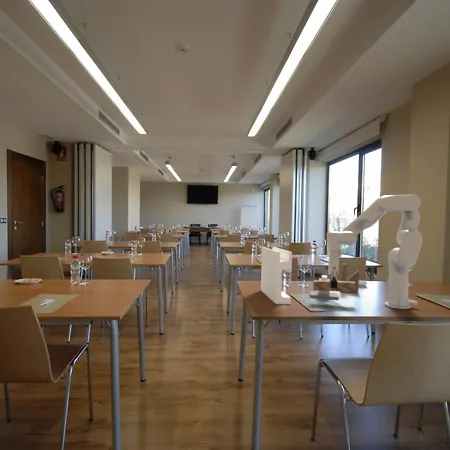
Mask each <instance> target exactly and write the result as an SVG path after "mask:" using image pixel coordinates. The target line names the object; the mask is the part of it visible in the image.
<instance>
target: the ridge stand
mask: <svg viewBox="0 0 450 450" xmlns="http://www.w3.org/2000/svg"><path fill="white" fill-rule="evenodd" d="M318 280H323V281H331V279H330V278H328V275H324V274H323V275H321V278H320V277H319V278H318ZM309 298H311V299H312V298H314V299H325V300H335V301H336V300H340V299H339V294H338V292H333V291H316V290H310V292H309Z"/></svg>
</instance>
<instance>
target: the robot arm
mask: <svg viewBox="0 0 450 450" xmlns="http://www.w3.org/2000/svg"><path fill="white" fill-rule="evenodd" d="M421 202H422V201H421V198H420V197H419V196H418V195H416V194H413V193H412V194H411V193H410V194H391V195H382V196H379V197H378V198H377V199H375V201H374V202H372V203H371V204H370V205H369V206H368V207H367V208H366V209H365V210H364V211H363V212H362V213H361V214H360V215H358V216H357V217H356V218H355V219H354V220H352V221H351V222H349V224H348V225H347V226H346V227H345V228H343V230H342V231H327V233H326V257H328V266H327V267H328V270H327V271H328V275H329V276H330V281H331V288H337V281H338V275H339V269H340V266H339V265H340V258H341V257H342V245H346V246H353V245H355V244H356V243H357V241H358V235H359V234H360V233H362V232H363V231H365V230H367V229H369V228H371V227H373V226H374V225H375V224H377V222H378V221H379V220H380V219H381V218H382V217H383V216H384V215H385V214H387V212H389V213H390V212H400V213H401V220H400V225H399V227H398V230H397V233H396V237H395V240H396V241H395V242H396V243H397V244H398V245H399V247H395V248H392V249H391V250H390V251H389V252H388V255H387V263H388V285H387V286H388V287H387V288H388V291H387V301H385V302H384V306H386V307H388V308H393V309H397V310H409V309H411V308H412V305H414V306H416V305H419V302H418V301H417V300H411V299H409V298H408V297H409V273H410V272H409V269H410V268H412V267H413V266H414V265H415V264H416V263H417V261H418V257H419V254H420V250H421V248H422V245H423V235H422V233H421V232H420V231H419V230H418V228H419V224H420V221H421V217H420V212H419V210H418V208H420V207H421V204H422V203H421Z"/></svg>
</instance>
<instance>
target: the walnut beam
mask: <svg viewBox="0 0 450 450" xmlns="http://www.w3.org/2000/svg"><path fill="white" fill-rule="evenodd" d="M312 291H318V292H319V291H330V292H337V293H338V292H340V293H349V292H356V283H355V282H350V281H341V280H337V288H331V280H330V281H323V280H319V279H318V280H316V279H313V281H312Z"/></svg>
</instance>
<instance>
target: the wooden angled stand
mask: <svg viewBox="0 0 450 450" xmlns="http://www.w3.org/2000/svg"><path fill="white" fill-rule="evenodd" d="M340 268H341V269H340V281H350V282H355V283H356V292H348V293H353V294H358V293H359V286H360V285H359V282H360V278H359V277H360V270H359V269H357V270H356V271H355V272H353V274H351V275H350V276H348V264H347V263H341V264H340Z"/></svg>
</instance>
